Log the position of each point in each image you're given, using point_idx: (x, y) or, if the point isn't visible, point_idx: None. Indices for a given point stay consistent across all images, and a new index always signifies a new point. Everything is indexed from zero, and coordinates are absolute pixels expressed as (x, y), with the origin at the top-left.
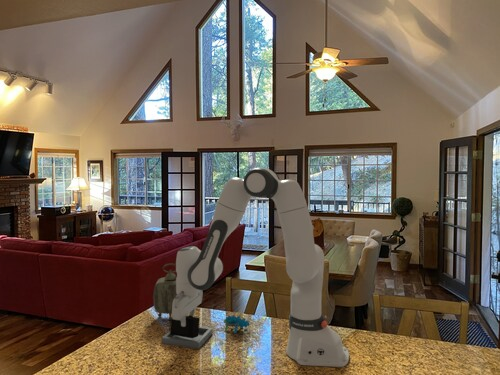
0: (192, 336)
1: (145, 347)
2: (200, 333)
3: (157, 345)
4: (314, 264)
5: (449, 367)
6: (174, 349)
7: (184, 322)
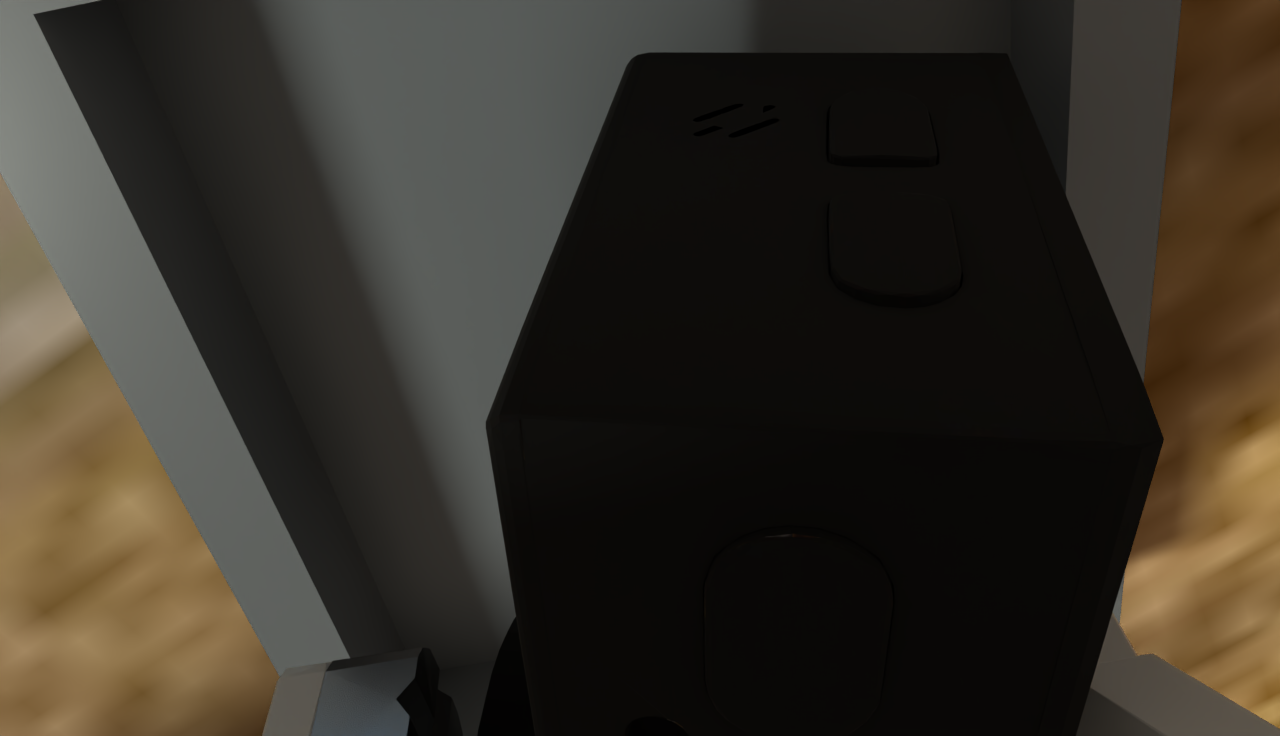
0: (1012, 82)
1: (1246, 700)
2: (250, 203)
3: (1131, 608)
4: None
5: None
6: (1234, 259)
7: (1131, 667)
